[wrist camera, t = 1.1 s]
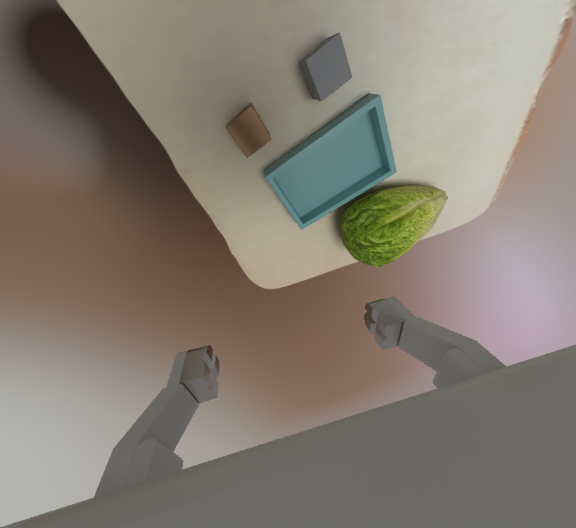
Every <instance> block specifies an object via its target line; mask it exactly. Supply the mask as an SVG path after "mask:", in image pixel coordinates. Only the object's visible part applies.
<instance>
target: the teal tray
mask: <svg viewBox="0 0 576 528" xmlns="http://www.w3.org/2000/svg"><path fill="white" fill-rule="evenodd" d="M395 173H396V167H395V162H394V158H393V153H392V149H391V144H390V139H389V135H388V130H387V125H386V121H385V116H384V111H383V107H382V102H381V97H380V95H378V94H367V95H366V96H364V97H363V98H362V99H360V100H359V101H358V102H356V103H355V104H353V105H352V106H351V107H349V108H348V109H347V110H345V111H344V112H343V113H341V114H340V115H338V116H337V117H336V118H334V119H333V120H332V121H330V122H329V123H327V124H326V125H325V126H323V127H322V128H321V129H319V130H318V131H317V132H315V133H314V134H312V135H311V136H310V137H308V138H307V139H306V140H304V141H303V142H301V143H300V144H299V145H297V146H296V147H295V148H293V149H292V150H291V151H289V152H288V153H286V154H285V155H284V156H282V157H281V158H280V159H278V160H277V161H275V162H274V163H273V164H271V165H270V166H269V167H267V168H266V169H265V170H264V175H265V178H266V180H267V181H268V182H269V184H270V185H271V187H272V188H273V190H274V191H275V193H276V194H277V195H278V197H279V198H280V200H281V201H282V203H283V204H284V205H285V207H286V208H287V210H288V211H289V213H290V214H291V216H292V217H293V218H294V220H295V221H296V223H297V224H298V226H299V227H300V228H301V230H302V229H304V228H305V227H307V226H309V225H310V224H312V223H314V222H315V221H317V220H319V219H320V218H322V217H324V216H325V215H327V214H328V213H330V212H332V211H333V210H335V209H337V208H338V207H340V206H342V205H343V204H345V203H347V202H348V201H350V200H352V199H353V198H355V197H357V196H358V195H360V194H362V193H363V192H365V191H366V190H368V189H370V188H371V187H373V186H375V185H376V184H378V183H380V182H381V181H383V180H385V179H386V178H388V177H390V176H391V175H393V174H395Z"/></svg>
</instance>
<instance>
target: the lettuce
mask: <svg viewBox="0 0 576 528" xmlns="http://www.w3.org/2000/svg"><path fill="white" fill-rule="evenodd" d="M447 198H448V197H447V195H446V192H445V191H443V190H440V189H438V188H435V187H429V186H402V187H394V188H388V189H385V190H381V191H377V192H374V193H371V194H369V195H367V196H365V197H363V198H361V199H359V200H357V201H355V202H354V203H353V204H352V205H351V206H349V207H348V208H347V209H346V211H345V212H344V213H343V216H342V219H341V222H340V226H341V237H342V240H343V243H344V245H345V247H346V248H347V250H348V251H349V252H350V254H351V255H352V256H353V258H355V259H356V260H358V261H360V262H362V263H365V264H367V265H370V266H376V267H380V266H383V265H386V264H388V263H390V262H392V261H394V260H396V259H397V258H399V257H400V256H401V255H403V254H404V253H406V252H407V251H408V250H409V249H411V248H412V247H413V246H414V244H415V243H416V242H417V241H418V240H419V239H420V238H421V237H422V236H424V235H425V234H426V233H427V232H428V231H429V230H430V229H432V227H433V225H434V223H435V222H436V220H437V218H438V216H439V215H440V213H441V211H442V209H443V208H444V205H445V203H446V200H447Z"/></svg>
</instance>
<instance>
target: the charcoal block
mask: <svg viewBox="0 0 576 528" xmlns="http://www.w3.org/2000/svg"><path fill="white" fill-rule="evenodd" d="M299 65H300V68H301V70H302V72H303V75H304V77H305V80H306V82H307V85H308V87H309V90H310V92H311V95H312V97H313V99H316V100H319V101H322V100H323V99H325V98H326V97H327V96H329V95H330V94H331V93H333V92H334V91H335V90H336V89H338V88H339V87H340V86H342V85H343V84H344V83H345V82H347V81H348V80H349V79H351V78H352V75H351V72H350V68H349V64H348V61H347V57H346V54H345V50H344V47H343V43H342V39H341V36H340V32H339V33H337V34H335V35H333V36H331V37H329V38H327V39H326V40H325V41H324V42H323V43H321V44H320V45H319V46H318V47H317V48H316V49H314V50H313V51H312V52H311V53H310V54H309V55H307V56H306V57H305V58H304V59H303V60H301V61H300V62H299Z"/></svg>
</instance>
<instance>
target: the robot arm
mask: <svg viewBox="0 0 576 528" xmlns="http://www.w3.org/2000/svg"><path fill="white" fill-rule="evenodd" d="M365 309H366V311H367V312H366V313H365V315H364V320H365V324H366V326H367V328H368V330H369V331H370V332H371V333H373V334H375V340H376V341H377V343H378V344H379V346H380V347H381V349H382V350H383V349H387V348H391V347H395V346H398V347H399V348H401V349H402V350H404V351H406V352H407V353H409V354H410V355H412V356H413V357H415V358H416V359H418V360H420V361H421V362H423V363H424V364H426V365H427V366H429V367H431V368H432V369H434V370H435V371H437V373H436V375H435V377H434V380H433V383H434V385H435V386H436V387H437V389H435V390H431V391H428V392H425V393H422V394H419V395H416V396H412V397H409V398H406V399H403V400H400V401H397V402H393V403H390V404H387V405H384V406H381V407H378V408H375V409H371V410H368V411H365V412H362V413H359V414H356V415H353V416H350V417H346V418H343V419H340V420H337V421H334V422H331V423H328V424H324V425H321V426H318V427H315V428H312V429H308V430H305V431H302V432H299V433H296V434H293V435H290V436H286V437H283V438H280V439H277V440H274V441H271V442H268V443H264V444H261V445H258V446H255V447H252V448H249V449H245V450H242V451H239V452H236V453H233V454H230V455H227V456H223V457H220V458H217V459H214V460H211V461H208V462H205V463H201V464H198V465H196V466H192V467H189V468H186V469H182V467H183V460H182V459H181V458H180V457H179V456H178V455H176V454H175V453H173V451H174V449H175V448H176V445H177V444H178V442H179V440H180V438H181V437H182V435H183V433H184V431H185V429H186V428H187V426H188V424H189V422H190V420H191V418H192V417H193V415H194V413H195V411H196V409H197V408H198V406H199V403H201V402H205V401H208V400H211V399H214V398H217V395H218V381H217V380H216V378H217V377H218V375H219V360H218V357H217V355H216V354H213V349H212V347H211V346H210V345H208V346H204V347H200V348H196V349H191V350H188V351H184V352H180V353H177V355H176V356H175V359H174V362H173V366H172V369H171V373H170V376H169V380H168V384H167V387H166V388H164V389H162V390H161V392H160V393H159V394H158V396H157V397H156V398H155V399H154V400H153V401H152V403H151V404H150V405H149V406H148V407H147V409H146V410H145V411H144V412H143V413H142V415H141V416H140V417H139V418H138V419H137V421H136V422H135V423H134V424H133V426H132V427H131V428H130V429H129V431H128V432H127V433H126V434H125V435H124V437H123V438H122V439H121V440H120V441H119V443H118V444H117V445H116V446H115V448H114V449H113V451H112V453H111V456H110V458H109V461H108V463H107V466H106V469H105V471H104V473H103V476H102V478H101V481H100V483H99V486H98V488H97V491H96V493H95V496H94V498H91V499H88V500H85V501H82V502H79V503H76V504H72V505H69V506H66V507H63V508H60V509H57V510H54V511H50V512H47V513H44V514H41V515H38V516H35V517H32V518H28V519H25V520H22V521H19V522H16V523H13V524H10V525H7V526H3V527H0V528H576V345H573V346H570V347H567V348H564V349H561V350H557V351H555V352H551V353H548V354H545V355H542V356H539V357H535V358H532V359H529V360H526V361H523V362H520V363H516V364H513V365H510V366H507V367H506V366H505V365H504V364H503V363H502V362H500V361H499V360H498V359H497V358H496V357H494V356H493V355H492V354H491V353H490V352H489V351H488V350H486V349H485V348H484V347H483V346H482V345H480V344H479V343H478V342H477V341H475V340H473V339H471V338H468V337H466V336H463V335H461V334H458V333H456V332H454V331H451V330H448V329H446V328H444V327H441V326H439V325H436V324H434V323H432V322H429V321H427V320H424V319H422V318H416V317H415V316H414V315H413V314H412V313H411V312H410V311H409V310H408V309H407V308H406V307H405V306H404V305H403V304H402V303H401V302H400V301H399V300H398V299H397V298H396V297H394V296H393V297H389V298H385V299H381V300H377V301H373V302H370V303H367V304H366V305H365Z"/></svg>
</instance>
